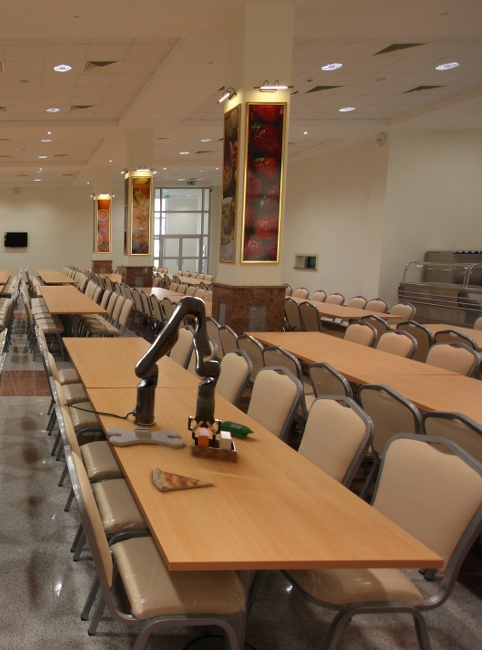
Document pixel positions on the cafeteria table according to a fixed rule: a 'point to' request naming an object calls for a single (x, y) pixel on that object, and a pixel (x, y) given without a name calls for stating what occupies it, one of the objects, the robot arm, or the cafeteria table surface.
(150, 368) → the robot arm
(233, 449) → the brown wooden tray
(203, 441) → the block
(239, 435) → the snack package
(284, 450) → the cafeteria table surface
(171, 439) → the holder
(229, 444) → the block
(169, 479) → the pizza slice
